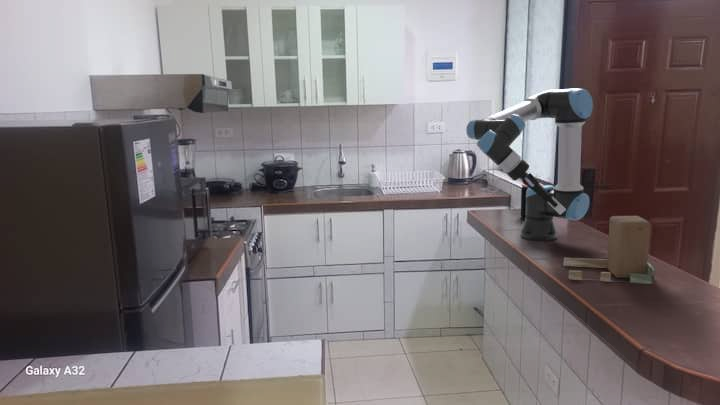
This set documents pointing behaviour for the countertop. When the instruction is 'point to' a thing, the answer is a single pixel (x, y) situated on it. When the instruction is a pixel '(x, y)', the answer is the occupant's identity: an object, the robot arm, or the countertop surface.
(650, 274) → the trap lane
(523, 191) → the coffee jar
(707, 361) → the countertop surface
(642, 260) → the wooden block
